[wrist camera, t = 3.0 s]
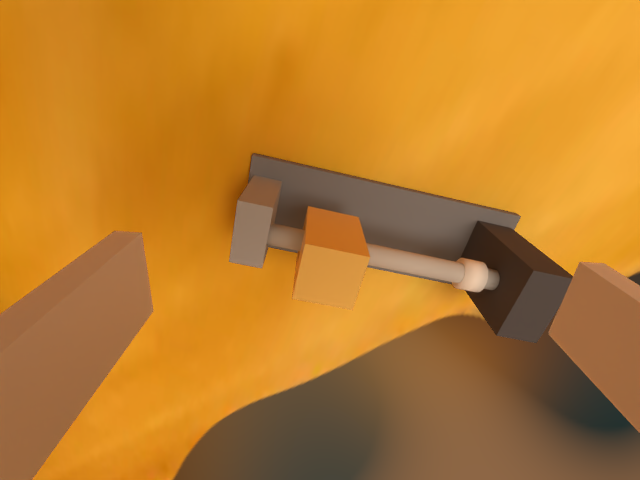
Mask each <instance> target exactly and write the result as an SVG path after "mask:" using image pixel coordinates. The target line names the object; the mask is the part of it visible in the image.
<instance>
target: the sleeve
mask: <svg viewBox="0 0 640 480" xmlns="http://www.w3.org/2000/svg"><path fill="white" fill-rule="evenodd" d="M303 230H305V233H304V237H303V241H302V245H301V250H300V251H298V252H297V261H296V269H295V278H294V286H293V295H292V299H296V300H301V301H306V302H312V303H317V304H322V305H327V306H333V307H338V308H343V309H349V310H353V307H354V304H355V301H356V298H357V295H358V292H359V290H360V287H361V284H362V281H363V278H364V275H365V272H366V269H367V266H368V263H369V260H370V254H369V251H368V248H367V244H366V241H365V237H364V234H363V230H362V227H361V224H360V220H359V217H356V216H351V215H347V214H342V213H338V212H333V211H328V210H324V209H319V208H315V207H310V206H308V208H307V213H306V217H305V221H304V226H303Z"/></svg>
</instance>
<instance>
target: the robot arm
mask: <svg viewBox="0 0 640 480" xmlns="http://www.w3.org/2000/svg"><path fill="white" fill-rule="evenodd" d="M152 312H153V305H152V298H151V292H150V285H149V278H148V272H147V265H146V258H145V252H144V245H143V238H142V233H139V232H124V231H114V232H112V233H111V234H110V235H108V236H107V237H106V238H104V239H103V240H101V241H100V242H99V243H97V244H96V245H95V246H93V247H92V248H91V249H89V250H88V251H86V252H85V253H84V254H82V255H81V256H80V257H78V258H77V259H75V260H74V261H73V262H71V263H70V264H69V265H67V266H66V267H64V268H63V269H62V270H60V271H59V272H58V273H56V274H55V275H53V276H52V277H51V278H49V279H48V280H47V281H45V282H44V283H42V284H41V285H40V286H38V287H37V288H36V289H34V290H33V291H31V292H30V293H29V294H27V295H26V296H25V297H23V298H22V299H20V300H19V301H18V302H16V303H15V304H14V305H12V306H11V307H9V308H8V309H7V310H5V311H4V312H3V313H1V314H0V480H32V479H33V477H34V476H35V475H36V473H37V472H38V471H39V469H40V468H41V466H42V465H43V464H44V462H45V461H46V459H47V458H48V457H49V455H50V454H51V452H52V451H53V450H54V448H55V447H56V446H57V444H58V443H59V441H60V440H61V439H62V437H63V436H64V434H65V433H66V432H67V430H68V429H69V427H70V426H71V425H72V423H73V422H74V421H75V419H76V418H77V416H78V415H79V414H80V412H81V411H82V409H83V408H84V407H85V405H86V404H87V402H88V401H89V400H90V398H91V397H92V396H93V394H94V393H95V391H96V390H97V389H98V387H99V386H100V384H101V383H102V382H103V380H104V379H105V377H106V376H107V375H108V373H109V372H110V371H111V369H112V368H113V366H114V365H115V364H116V362H117V361H118V359H119V358H120V357H121V355H122V354H123V352H124V351H125V350H126V348H127V347H128V346H129V344H130V343H131V341H132V340H133V339H134V337H135V336H136V334H137V333H138V332H139V330H140V329H141V327H142V326H143V325H144V323H145V322H146V321H147V319H148V318H149V316H150V315H151V314H152ZM548 334H549V335H550V336H551V338H552V339H553V340H554V341H555V342H556V343H557V344H558V345H559V346H560V347H561V348H562V349H563V351H564V352H565V353H566V354H567V355H568V356H569V357H570V358H571V359H572V360H573V361H574V362H575V364H576V365H577V366H578V367H579V368H580V369H581V370H582V371H583V372H584V373H585V374H586V375H587V377H588V378H589V379H590V380H591V381H592V382H593V383H594V384H595V385H596V386H597V387H598V388H599V389H600V391H601V392H603V394H604V395H605V396H606V397H607V398H608V399H609V400H610V401H611V402H612V404H613V405H614V406H615V407H616V408H617V409H618V410H619V411H620V412H621V413H622V414H623V415H624V416H625V418H626V419H627V420H628V421H629V422H630V423H631V424H632V425H633V426H634V427H635V428H636V429H637V431H638V432H639V433H640V286H639V285H638V284H636V283H634V282H633V281H631V280H630V279H628V278H626V277H625V276H623V275H622V274H620V273H618V272H617V271H615V270H614V269H612V268H610V267H609V266H607V265H606V264H604V263H589V262H580V263H579V265H578V267H577V269H576V272H575V274H574V276H573V278H572V281H571V283H570V285H569V287H568V290H567V292H566V294H565V296H564V299H563V301H562V303H561V305H560V308H559V310H558V312H557V314H556V317H555V319H554V321H553V324H552V326H551V328H550V330H549V333H548Z"/></svg>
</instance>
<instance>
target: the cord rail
mask: <svg viewBox="0 0 640 480" xmlns="http://www.w3.org/2000/svg"><path fill="white" fill-rule="evenodd" d="M308 206H310V207H315V208H319V209H324V210H328V211H333V212H338V213H342V214H347V215H351V216H356V217H359V220H360V224H361V227H362V230H363V234H364V237H365V241H366V244H367V248H368V251H369V254H370V260H369V263H368V266H367V267H369V268H374V269H379V270H384V271H389V272H394V273H399V274H404V275H409V276H414V277H419V278H424V279H429V280H434V281H438V282H443V283H448V284H453V286H454V287H455V288H457V289H462V290H465V291H466V292H467V294H468V295H469V297H470V298H471V299H472V301H473V302H474V304H475V305H476V307H477V308H478V310H479V311H480V313H481V314H482V315H483V317H484V318H485V320H486V321H487V323H488V324H489V325H490V327H491V328H492V330H493V331H494V333H495V334H496V335H497V336H502V337H507V338H512V339H518V340H523V341H528V342H534V343H537V341H538V340H539V338H540V337H541V335H542V334H543V332H544V331H545V329H546V328H547V326H548V324H549V323H550V321H551V320H552V318H553V317H554V315H555V313H556V312H557V310H558V309H559V307H560V305H561V303H562V301H563V299H564V296H565V294H566V292H567V290H568V287H569V285H570V283H571V281H572V278H573V276H572V275H571V274H569V273H568V272H567V271H565V270H564V269H563V268H562V267H560V266H559V265H558V264H556V263H555V262H554V261H553V260H551V259H550V258H549V257H547V256H546V255H545V254H544V253H542V252H541V251H540V250H538V249H537V248H536V247H535V246H533V245H532V244H531V243H529V242H528V241H527V240H526V239H524V238H523V237H522V236H521V235H519V234H518V233H517V232H515V231H514V229H515V227H516V225H517V223H518V221H519V219H520V217H521V216H519V215H518V214H516V213H512V212H508V211H504V210H499V209H495V208H491V207H486V206H482V205H478V204H473V203H469V202H465V201H460V200H456V199H451V198H447V197H443V196H438V195H434V194H430V193H425V192H421V191H417V190H412V189H408V188H404V187H399V186H395V185H391V184H386V183H382V182H377V181H373V180H369V179H364V178H360V177H356V176H351V175H347V174H343V173H338V172H334V171H330V170H325V169H321V168H317V167H312V166H308V165H303V164H299V163H295V162H290V161H286V160H282V159H277V158H273V157H269V156H264V155H260V154H256V153H253V155H252V160H251V166H250V173H249V180H248V185H247V187H246V188H245V190H244V191H243V193H242V194H241V196H240V197H239V199H238V200H237V208H236V215H235V222H234V230H233V237H232V244H231V252H230V259H229V262H232V263H237V264H242V265H247V266H252V267H257V268H262V267H263V263H264V260H265V257H266V253H267V250H268V247H271V248H276V249H281V250H286V251H290V252H295V253H297V252H298V251H300V250H301V245H302V241H303V237H304V233H305V230H303V226H304V221H305V217H306V213H307V208H308Z"/></svg>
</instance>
